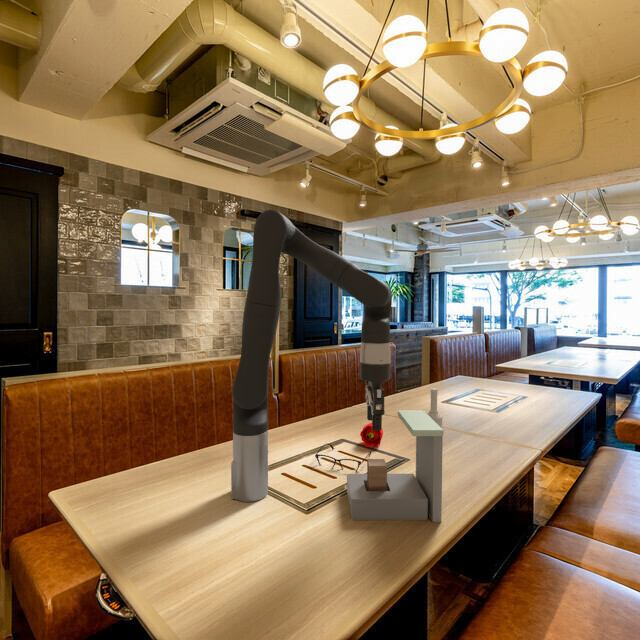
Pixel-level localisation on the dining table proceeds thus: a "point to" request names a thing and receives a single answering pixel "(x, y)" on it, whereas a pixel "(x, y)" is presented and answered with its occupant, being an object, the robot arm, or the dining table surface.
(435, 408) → the bottle
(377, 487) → the peg
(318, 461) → the eyeglasses
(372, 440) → the flower
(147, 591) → the dining table surface
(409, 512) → the socket
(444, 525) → the dining table surface
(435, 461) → the panel
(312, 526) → the dining table surface
